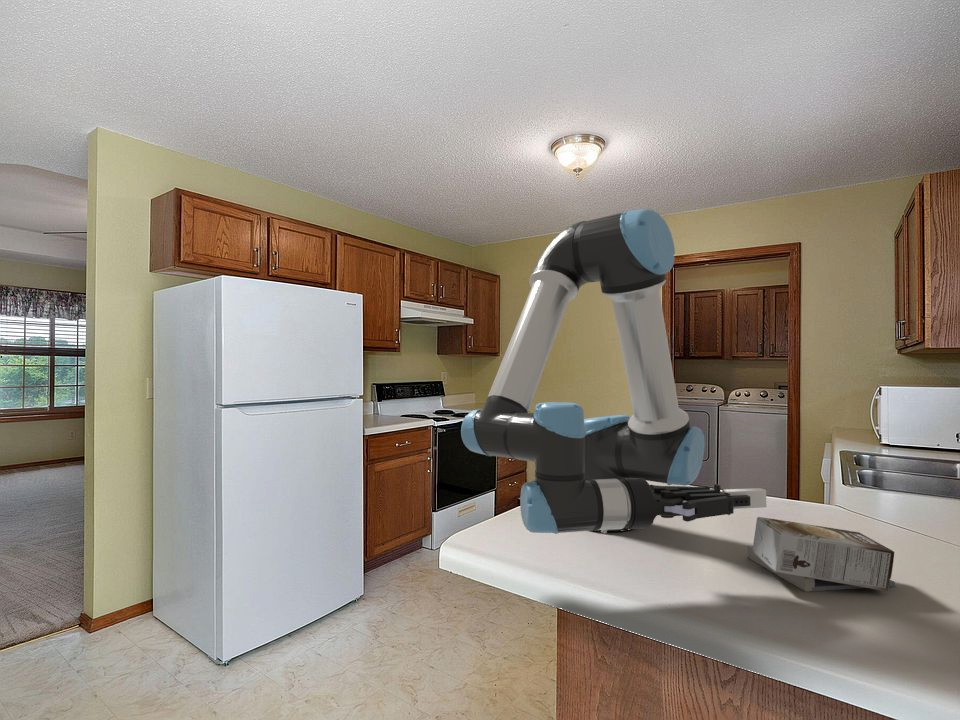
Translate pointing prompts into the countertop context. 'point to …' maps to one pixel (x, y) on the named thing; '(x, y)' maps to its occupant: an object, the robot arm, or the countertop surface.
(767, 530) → the coffee box
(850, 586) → the mat
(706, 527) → the countertop surface
